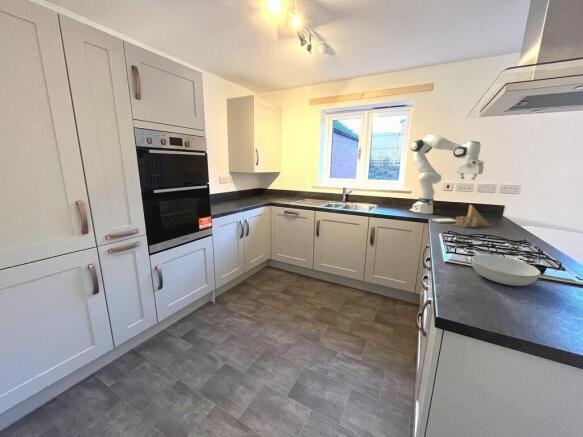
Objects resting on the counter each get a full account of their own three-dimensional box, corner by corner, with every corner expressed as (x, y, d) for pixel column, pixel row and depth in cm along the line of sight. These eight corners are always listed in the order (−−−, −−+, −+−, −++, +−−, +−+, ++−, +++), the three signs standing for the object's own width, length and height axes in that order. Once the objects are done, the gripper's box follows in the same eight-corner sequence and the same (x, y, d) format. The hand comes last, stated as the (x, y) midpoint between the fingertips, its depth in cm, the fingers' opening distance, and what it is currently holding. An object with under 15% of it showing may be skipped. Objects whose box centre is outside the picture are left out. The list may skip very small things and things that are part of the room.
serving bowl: (470, 264, 112) (473, 250, 110) (532, 278, 99) (536, 263, 97) (466, 280, 96) (470, 264, 94) (540, 299, 83) (545, 281, 82)
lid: (438, 223, 192) (439, 220, 191) (432, 221, 198) (432, 218, 198) (455, 222, 196) (456, 220, 195) (448, 220, 202) (449, 218, 202)
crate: (461, 227, 181) (462, 218, 179) (454, 225, 186) (456, 216, 184) (477, 226, 185) (479, 217, 183) (471, 224, 190) (473, 216, 188)
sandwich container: (492, 226, 186) (496, 207, 183) (468, 224, 192) (472, 205, 189) (488, 224, 194) (492, 206, 191) (465, 222, 200) (469, 204, 197)
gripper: (456, 161, 201) (453, 178, 204) (479, 161, 182) (476, 180, 185) (462, 162, 202) (459, 178, 205) (486, 162, 183) (482, 180, 186)
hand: (467, 179), depth 195 cm, fingers open, 8 cm apart
